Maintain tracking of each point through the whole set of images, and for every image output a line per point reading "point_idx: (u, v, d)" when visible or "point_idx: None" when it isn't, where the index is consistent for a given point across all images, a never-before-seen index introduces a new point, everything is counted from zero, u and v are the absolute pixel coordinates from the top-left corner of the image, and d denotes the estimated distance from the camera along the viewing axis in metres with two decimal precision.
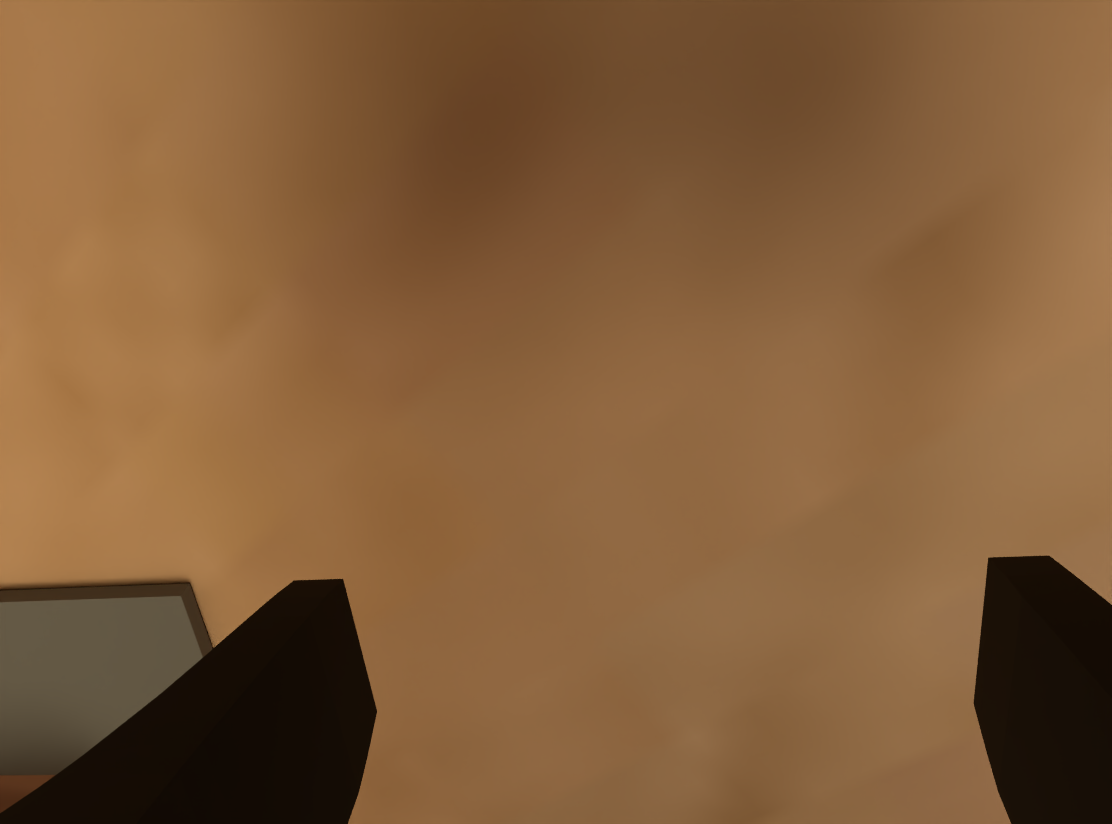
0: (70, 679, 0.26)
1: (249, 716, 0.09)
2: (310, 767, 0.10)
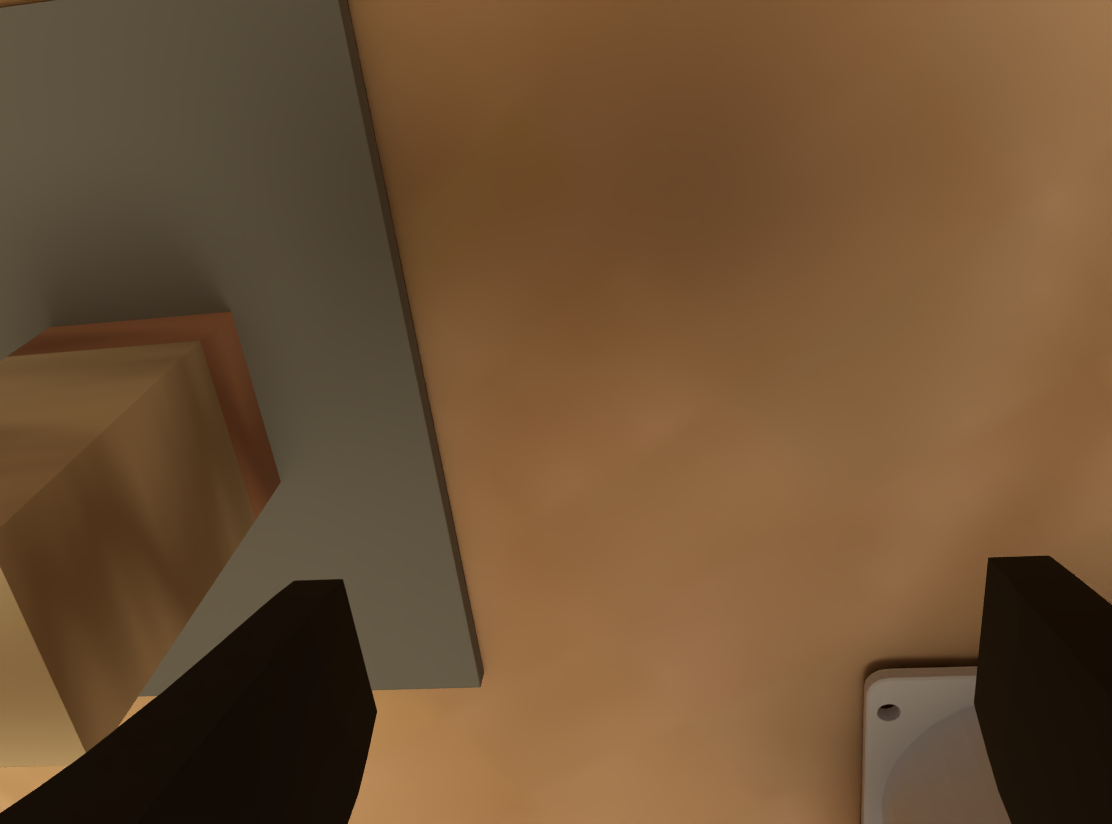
0: (162, 139, 0.18)
1: (249, 716, 0.09)
2: (310, 767, 0.10)
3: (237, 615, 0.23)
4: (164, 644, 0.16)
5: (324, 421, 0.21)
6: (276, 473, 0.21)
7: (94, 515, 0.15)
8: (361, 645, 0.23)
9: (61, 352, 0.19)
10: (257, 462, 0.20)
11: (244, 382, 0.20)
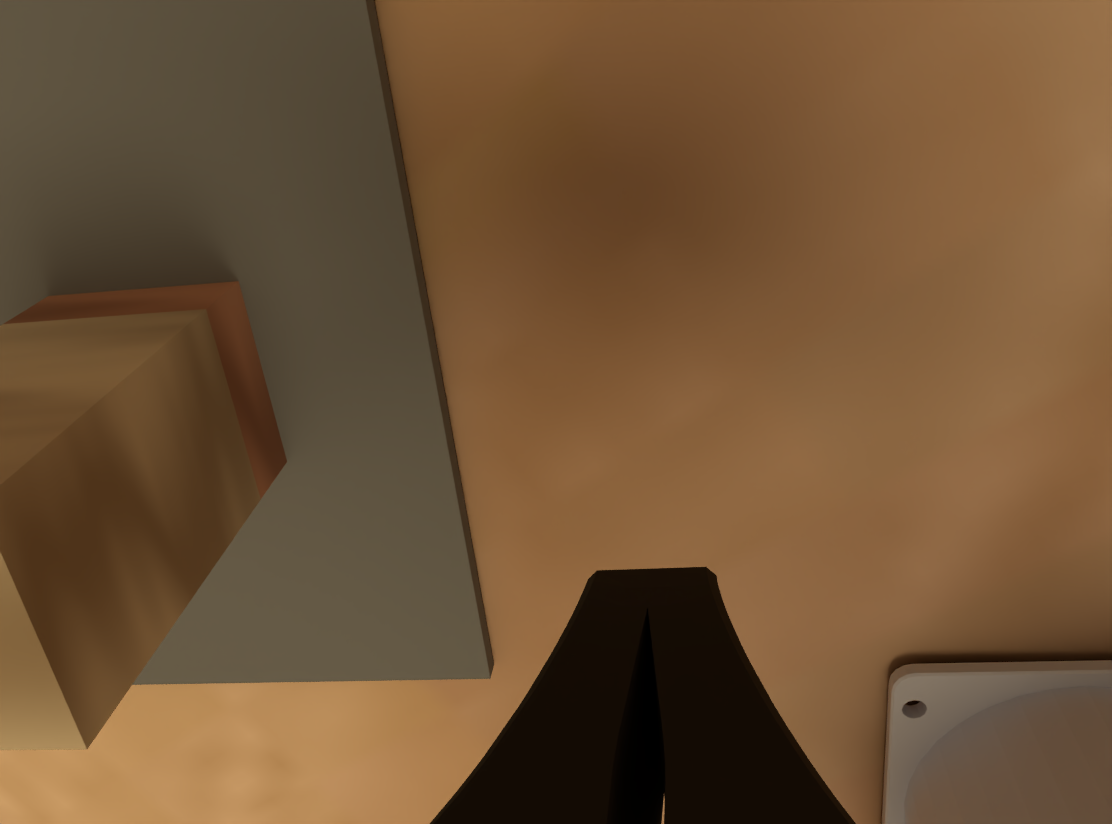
0: (169, 98, 0.17)
1: (631, 711, 0.08)
2: (649, 765, 0.10)
3: (239, 600, 0.22)
4: (164, 624, 0.16)
5: (333, 397, 0.20)
6: (282, 452, 0.20)
7: (93, 484, 0.14)
8: (367, 633, 0.22)
9: (60, 320, 0.18)
10: (264, 440, 0.20)
11: (251, 355, 0.19)
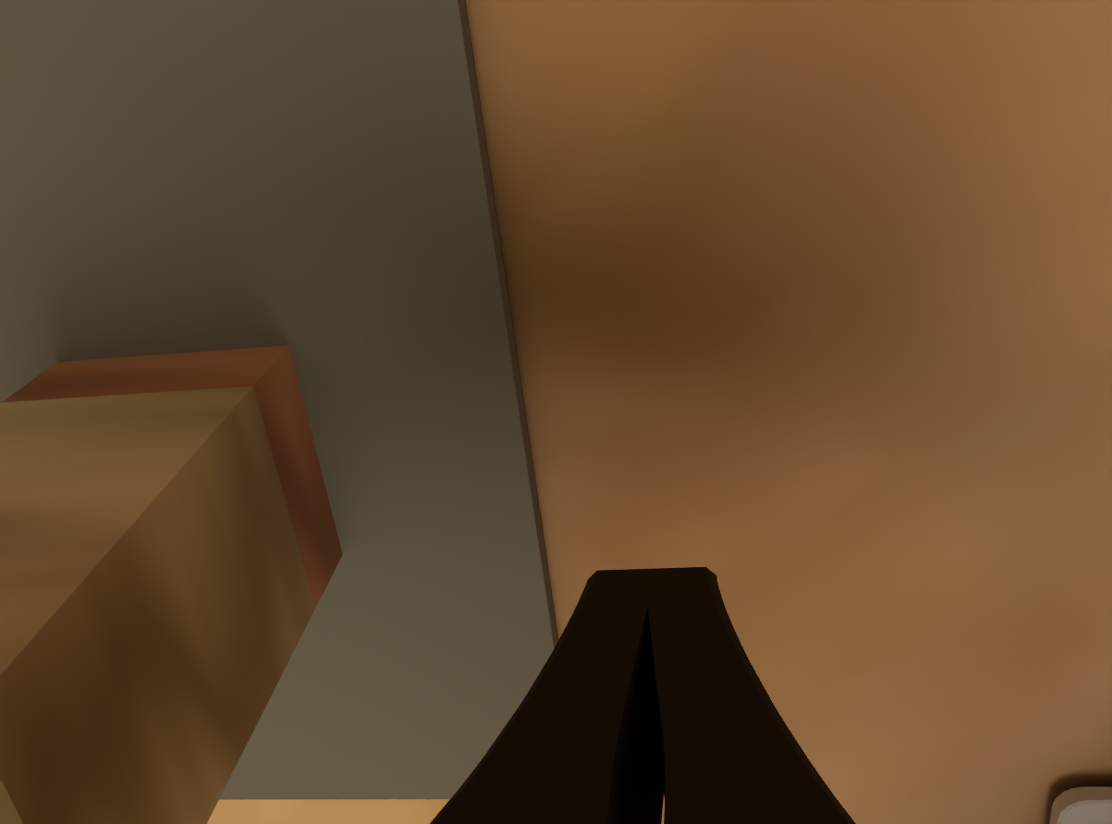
0: (207, 124, 0.14)
1: (631, 711, 0.08)
2: (649, 765, 0.10)
3: (282, 709, 0.19)
4: (209, 801, 0.12)
5: (400, 481, 0.16)
6: (337, 544, 0.17)
7: (121, 643, 0.11)
8: (432, 748, 0.19)
9: (73, 399, 0.14)
10: (318, 535, 0.16)
11: (303, 434, 0.16)
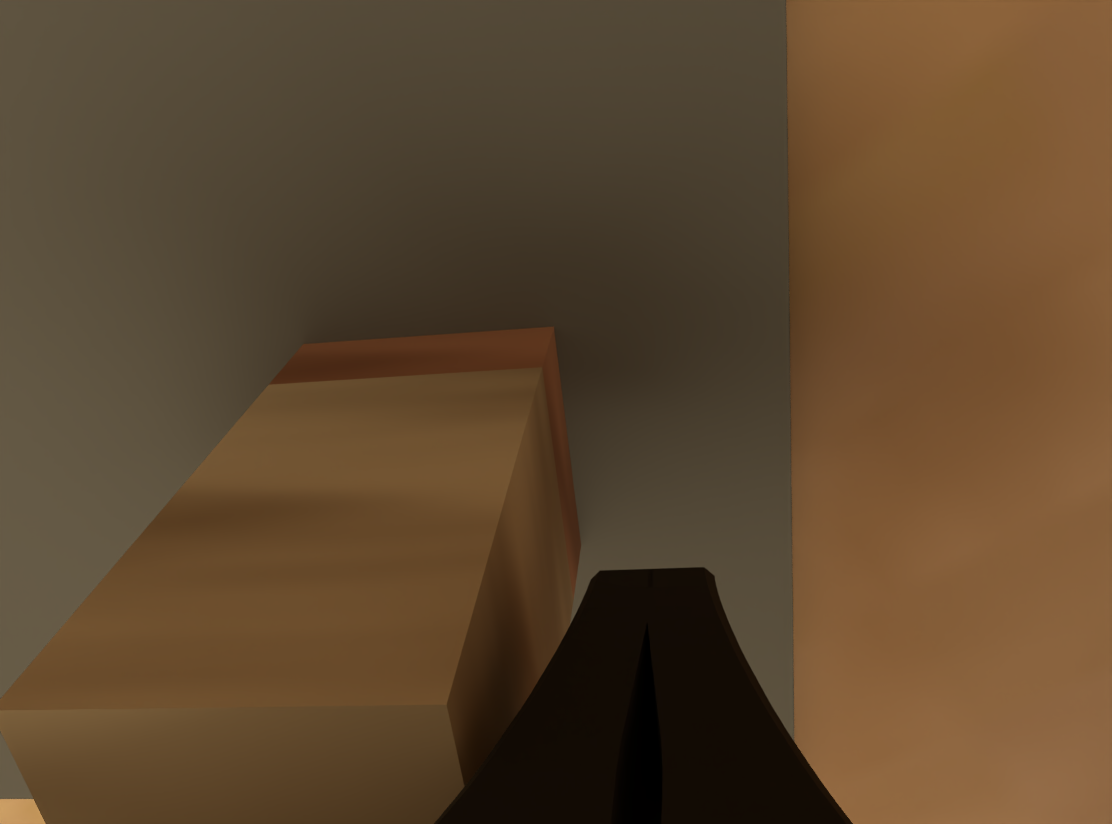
0: (497, 94, 0.13)
1: (634, 711, 0.08)
2: (652, 765, 0.10)
3: None
4: None
5: (653, 468, 0.16)
6: (578, 534, 0.16)
7: (503, 633, 0.10)
8: None
9: (347, 380, 0.14)
10: (571, 523, 0.16)
11: (562, 419, 0.15)
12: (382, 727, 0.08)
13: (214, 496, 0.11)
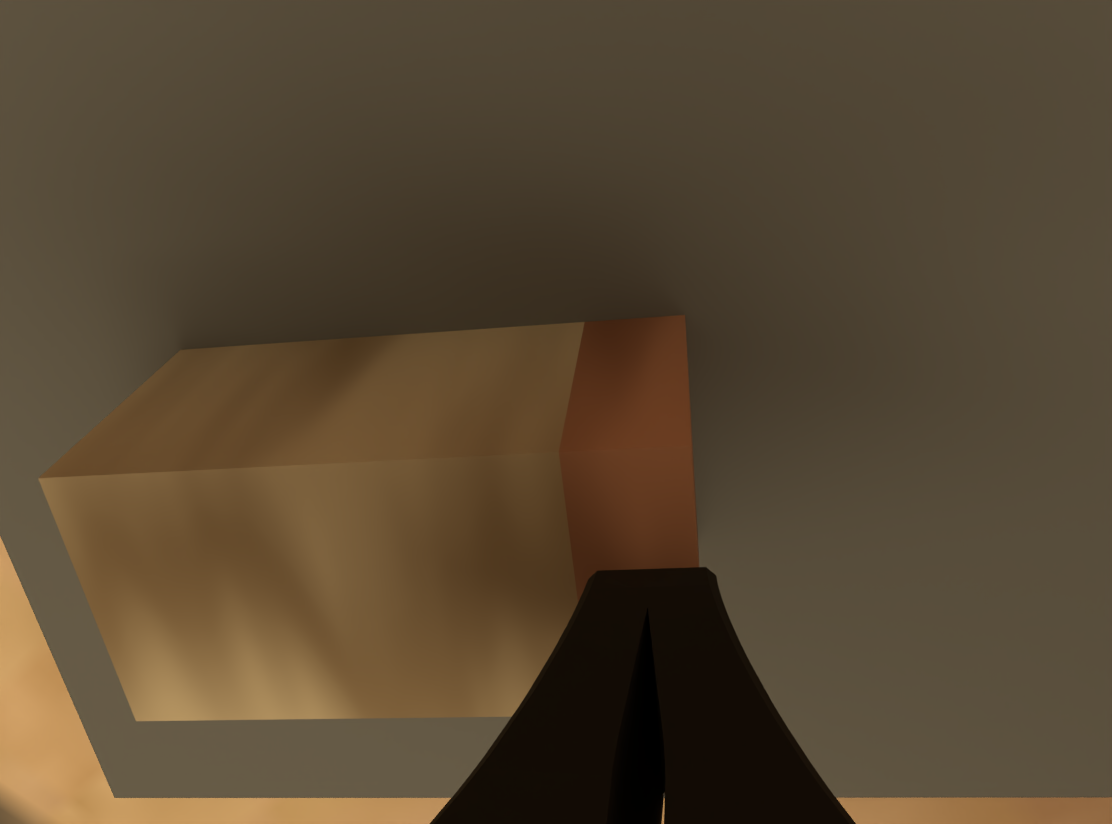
0: (956, 42, 0.12)
1: (631, 711, 0.08)
2: (649, 765, 0.10)
3: (818, 700, 0.18)
4: (298, 710, 0.13)
5: (1046, 449, 0.15)
6: None
7: (214, 537, 0.12)
8: (980, 742, 0.18)
9: (574, 353, 0.14)
10: None
11: (669, 551, 0.12)
12: None
13: (377, 349, 0.15)
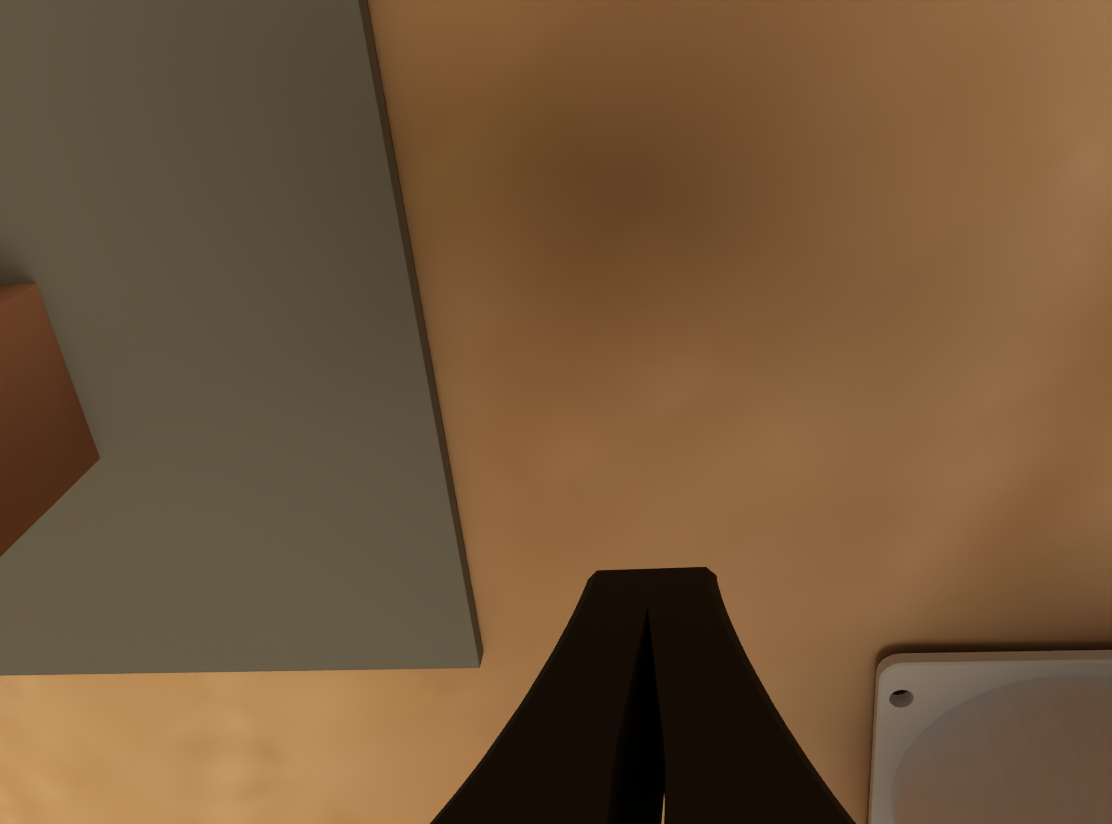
0: (157, 84, 0.17)
1: (631, 711, 0.08)
2: (650, 766, 0.10)
3: (228, 589, 0.22)
4: None
5: (323, 386, 0.20)
6: None
7: None
8: (357, 622, 0.22)
9: None
10: None
11: None
12: None
13: None
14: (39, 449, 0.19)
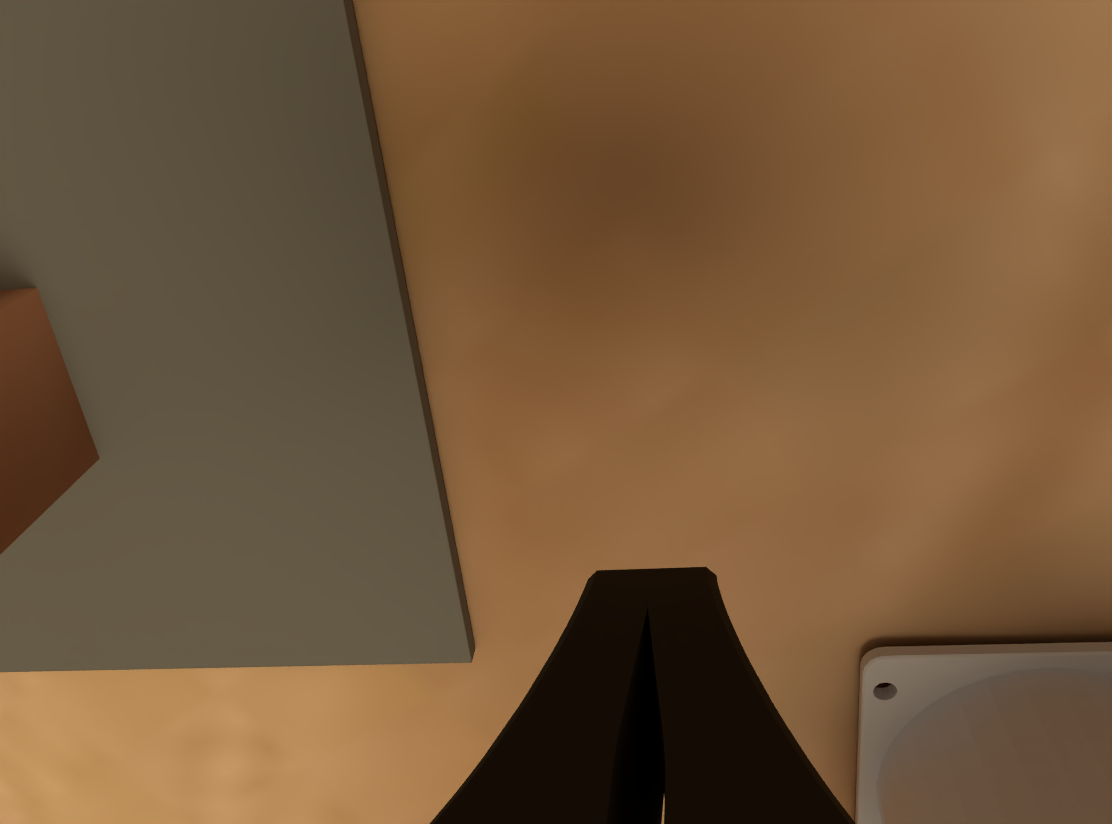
0: (152, 93, 0.18)
1: (631, 711, 0.08)
2: (649, 765, 0.10)
3: (225, 586, 0.23)
4: None
5: (315, 386, 0.20)
6: None
7: None
8: (351, 618, 0.23)
9: None
10: None
11: None
12: None
13: None
14: (40, 449, 0.20)
